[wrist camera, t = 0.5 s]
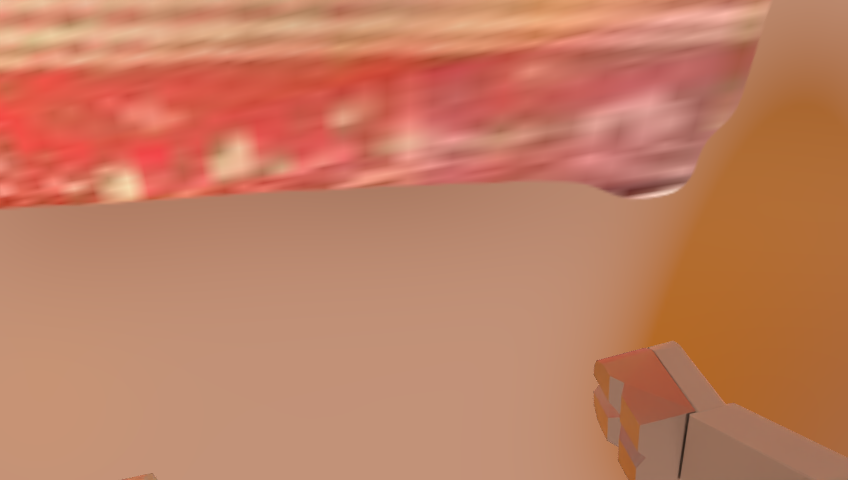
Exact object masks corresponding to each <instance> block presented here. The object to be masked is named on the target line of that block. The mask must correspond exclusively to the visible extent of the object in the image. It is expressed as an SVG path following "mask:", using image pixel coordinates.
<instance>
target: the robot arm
mask: <svg viewBox="0 0 848 480" xmlns="http://www.w3.org/2000/svg"><path fill="white" fill-rule="evenodd" d="M594 376H595V378H596V380H597V382H598V384H599V385H598V387H597V388H596V389H595V391H594V407H595V411H596V416H597V420H598V422H599V424H600V427H601V429H602V431H603V433H604V435H605V437H606V439H607V441H609V442H610V443H612V444H614V445H616V446H618V462H619V463H620V465H621V467H622V469H623V471H624V473H625V474H626V476H627V478H628V480H848V458H847V457H845V456H843V455H841V454H838V453H836V452H834V451H832V450H830V449H828V448H826V447H824V446H822V445H820V444H817V443H816V442H814V441H812V440H809V439H807V438H805V437H803V436H801V435H799V434H797V433H795V432H793V431H791V430H789V429H787V428H785V427H783V426H780V425H778V424H776V423H774V422H772V421H770V420H768V419H766V418H764V417H762V416H760V415H758V414H756V413H754V412H751V411H749V410H747V409H745V408H743V407H741V406H739V405H737V404H735V403H731V404H725V403H724V401H723V400H722V399H721V398H720V396H719V395H718V394H717V393H716V391H715V390H714V389H713V387H712V386H711V385H710V384H709V382H708V381H707V380H706V378H705V377H704V376H703V375H702V373H701V372H700V371H699V369H698V368H697V367H696V366H695V364H694V363H693V362H692V360H691V359H690V358H689V357H688V356H687V354H686V353H685V351H684V350H683V349H682V348H681V346H680V345H679V344H678V343H676V342H674V341H671V342H668V343H663V344H660V345H656V346H652V347H648V348H642V349H639V350H635V351H631V352H627V353H623V354H620V355H616V356H612V357H608V358H604V359H601V360H597V361H596V363H595V365H594ZM122 480H157V479H156V477H155V476H154V474H153V473H151V474H145V475H140V476H136V477H132V478H127V479H122Z"/></svg>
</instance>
